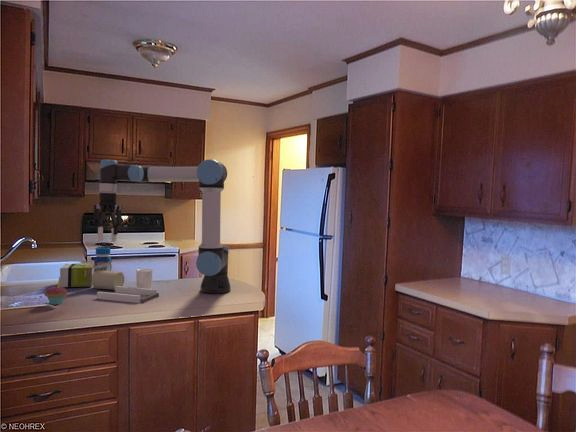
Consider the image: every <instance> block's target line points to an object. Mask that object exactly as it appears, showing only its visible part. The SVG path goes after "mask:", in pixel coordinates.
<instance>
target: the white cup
mask: <svg viewBox="0 0 576 432" xmlns="http://www.w3.org/2000/svg"><path fill="white" fill-rule="evenodd" d="M153 272H154V271H153V269H150V268H141V269H136V270H135V274H136V275H135V276H136V277H135V279H136V280H135V282H136V288H146V289H152V284H153V283H152V282H153Z"/></svg>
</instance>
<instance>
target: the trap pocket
mask: <svg viewBox="0 0 576 432" xmlns="http://www.w3.org/2000/svg"><path fill="white" fill-rule="evenodd" d="M159 297H160V293H159V292H156V293H155V294H152V295H146V296H145V295H142V296H141V302H140V303H142V304H144V303H146V302H149V301H152V300H153V299H156V298H159Z"/></svg>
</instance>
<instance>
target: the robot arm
mask: <svg viewBox="0 0 576 432" xmlns="http://www.w3.org/2000/svg"><path fill="white" fill-rule="evenodd" d="M227 178H228V170H227V167H226V166H225V165H224V164H223V163H222V162H220V161H218V160H216V159H212V158H208V159H205V160H203V161H202V162H200V163H199V164H198V166H142V165H137V164H119V163H118V161H117V160H114V159H101V161H100V165H99V195H98V196H99V197H98V198H99V203H98V204H94V205H93V208H94V209H93V210H94V211H93V220H92V225H93V226H95V227H96V234H97V242H101V241H103V239H104V227H103V223H104V220H105V216H106V214H107V213H108V214H109V217H110V221H111V224H112V227H111V236H110V237H111V238H110V239H111V240H110V242H113V243H114V242H117V235H118V234H119V228H120V227H122V226H123V220H122V219H123V218H122V208H123V206H122V205H118V204H117V198H118V195H117V193H116V192H118V191H117V189H118V188H117V187H118V185H117V184H118V181H122V182H123V181H124V182H136V183H142V184H143V183H163V182H164V183H170V182H171V183H174V182H175V183H180V182H181V183H185V182H188V183H189V182H191V183H193V182H194V183H195V182H197V183H198V189H199V190H200V191H201V194H202V195H201V199H202V200H201V243H200V244H199V245H198V251H197V253H198V255H197V257H196V262H195V266H196V269H197V271H198V272H199V273H200V274H201V275H203V277H202V281H201V283H200V286H199V287H200V289H199V290H200V292H202V293H205V294H215V295H216V294H224V293H225V294H226V293H229V292H231V289H232V288H231V283H230V280H229V274H228V271H229V270H228V269H229V268H228V267H229V266H228V265H229V252H230V251H229V246H228V245H223V244H222V243H221V213H222V212H221V208H222V207H221V206H222V205H221V199H222V198H221V196H222V194H221V193H222V192H223V191H224V190H225V181H226V180H227Z"/></svg>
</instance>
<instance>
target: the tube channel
mask: <svg viewBox="0 0 576 432" xmlns="http://www.w3.org/2000/svg"><path fill="white" fill-rule="evenodd" d="M155 293H157V289H155V288H151V289H146V288H137V287H133V286H124V285H123V286H115V290H114V292H108V291H107V292H105V291H97V292H96V299H97V300H104V301H105V300H107V301H114V302H115V301H116V302H124V303H136V304H140V303H141V297H142V296H146V295H152V294H155Z"/></svg>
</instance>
